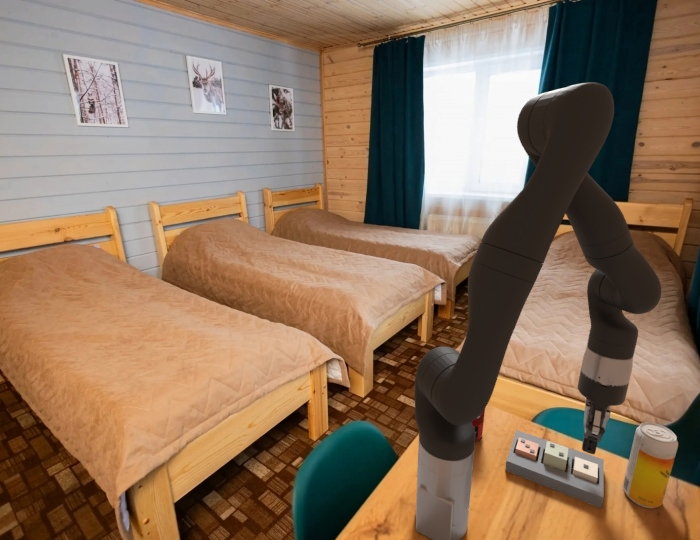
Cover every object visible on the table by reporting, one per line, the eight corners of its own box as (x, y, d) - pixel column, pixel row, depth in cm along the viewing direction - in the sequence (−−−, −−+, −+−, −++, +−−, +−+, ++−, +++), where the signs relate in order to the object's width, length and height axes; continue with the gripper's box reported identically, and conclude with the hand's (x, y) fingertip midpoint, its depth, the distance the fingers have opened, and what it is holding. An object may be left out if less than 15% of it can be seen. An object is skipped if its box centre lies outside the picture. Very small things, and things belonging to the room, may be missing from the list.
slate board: (601, 508, 71) (603, 497, 70) (505, 470, 80) (506, 460, 79) (601, 469, 80) (603, 459, 79) (515, 438, 89) (516, 429, 88)
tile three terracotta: (534, 466, 80) (536, 455, 79) (514, 459, 82) (515, 447, 81) (537, 454, 83) (539, 443, 82) (517, 447, 85) (519, 436, 84)
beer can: (668, 513, 70) (687, 445, 66) (631, 508, 71) (647, 441, 67) (650, 486, 75) (667, 422, 71) (616, 481, 77) (630, 418, 72)
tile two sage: (564, 471, 77) (567, 459, 76) (542, 463, 79) (544, 451, 78) (566, 458, 80) (568, 447, 79) (545, 451, 82) (547, 439, 81)
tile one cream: (595, 489, 74) (597, 477, 73) (571, 480, 76) (574, 468, 75) (595, 475, 77) (598, 463, 76) (573, 467, 79) (575, 455, 79)
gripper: (582, 352, 77) (569, 424, 82) (579, 383, 67) (563, 464, 71) (627, 362, 73) (610, 438, 78) (631, 397, 63) (611, 481, 67)
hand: (588, 450), depth 75 cm, fingers closed
